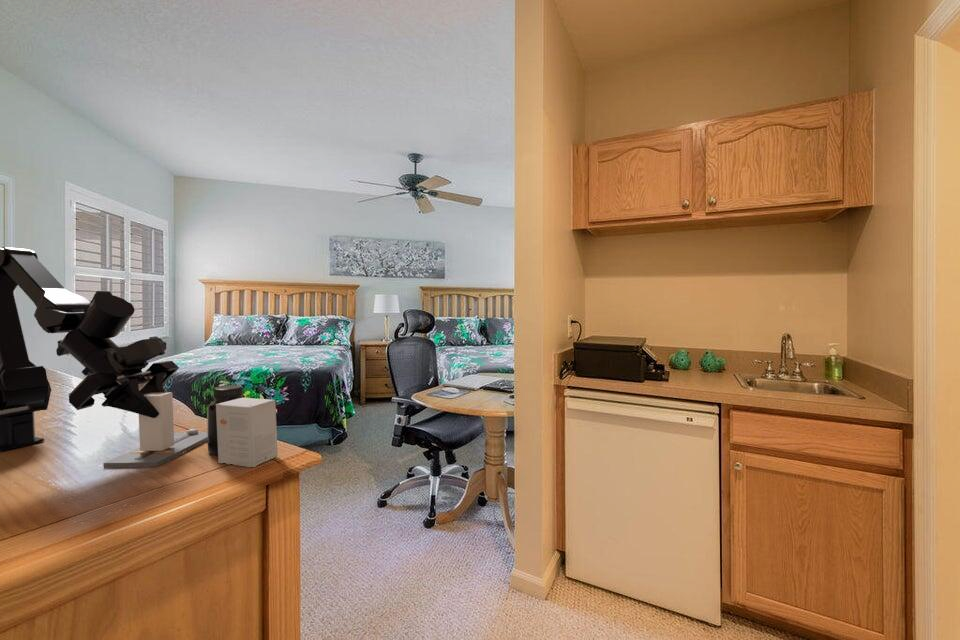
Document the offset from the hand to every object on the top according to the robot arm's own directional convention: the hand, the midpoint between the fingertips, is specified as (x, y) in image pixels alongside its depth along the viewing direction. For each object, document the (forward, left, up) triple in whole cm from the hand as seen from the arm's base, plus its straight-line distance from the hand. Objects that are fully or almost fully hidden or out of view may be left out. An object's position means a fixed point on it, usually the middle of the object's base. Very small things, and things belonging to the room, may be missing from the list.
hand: (163, 413), depth 77 cm
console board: (-2, +2, -8) cm, 8 cm away
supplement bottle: (+9, +5, -8) cm, 13 cm away
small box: (+17, +3, -8) cm, 19 cm away
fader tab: (-1, 0, -6) cm, 7 cm away
